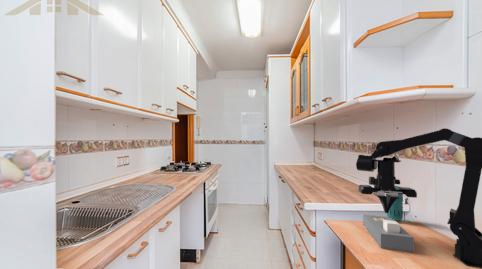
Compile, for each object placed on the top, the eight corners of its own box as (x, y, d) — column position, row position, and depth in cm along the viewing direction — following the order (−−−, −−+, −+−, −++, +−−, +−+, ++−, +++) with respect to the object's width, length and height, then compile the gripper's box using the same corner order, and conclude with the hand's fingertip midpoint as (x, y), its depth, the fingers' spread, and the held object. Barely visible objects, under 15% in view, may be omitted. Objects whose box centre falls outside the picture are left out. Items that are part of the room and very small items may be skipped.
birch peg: (383, 229, 96) (383, 218, 96) (386, 233, 92) (386, 221, 92) (372, 228, 97) (372, 217, 97) (375, 232, 93) (375, 220, 93)
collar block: (388, 228, 98) (388, 216, 98) (413, 252, 76) (413, 237, 77) (363, 225, 100) (363, 214, 100) (380, 247, 79) (380, 233, 79)
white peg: (395, 233, 84) (395, 220, 84) (399, 237, 80) (399, 224, 80) (383, 232, 85) (383, 219, 85) (387, 236, 81) (387, 223, 81)
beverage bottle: (387, 221, 106) (387, 179, 107) (386, 217, 112) (386, 177, 113) (404, 224, 103) (404, 180, 104) (401, 220, 109) (402, 178, 110)
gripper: (404, 171, 94) (404, 209, 93) (355, 169, 99) (355, 205, 98) (417, 175, 83) (417, 217, 83) (361, 172, 88) (362, 212, 88)
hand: (386, 212), depth 88 cm, fingers closed
